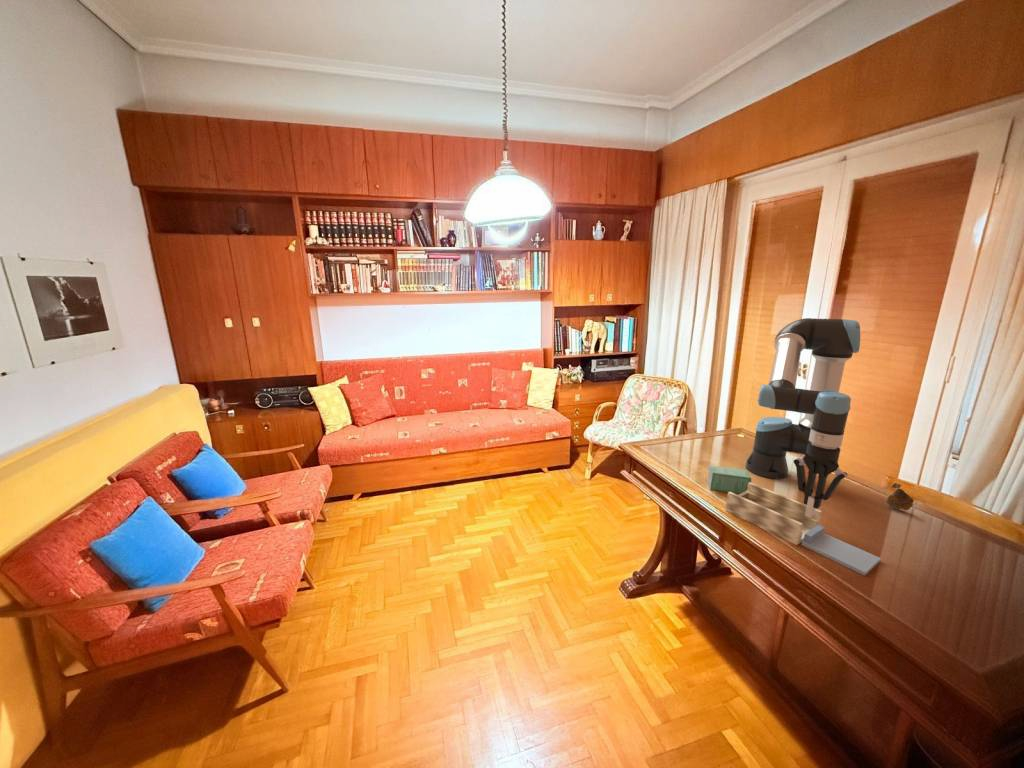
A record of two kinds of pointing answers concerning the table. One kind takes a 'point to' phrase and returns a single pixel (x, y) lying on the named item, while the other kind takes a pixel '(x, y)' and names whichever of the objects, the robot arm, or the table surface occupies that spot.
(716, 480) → the box
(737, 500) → the case
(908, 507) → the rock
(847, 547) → the cover plate
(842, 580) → the table surface
